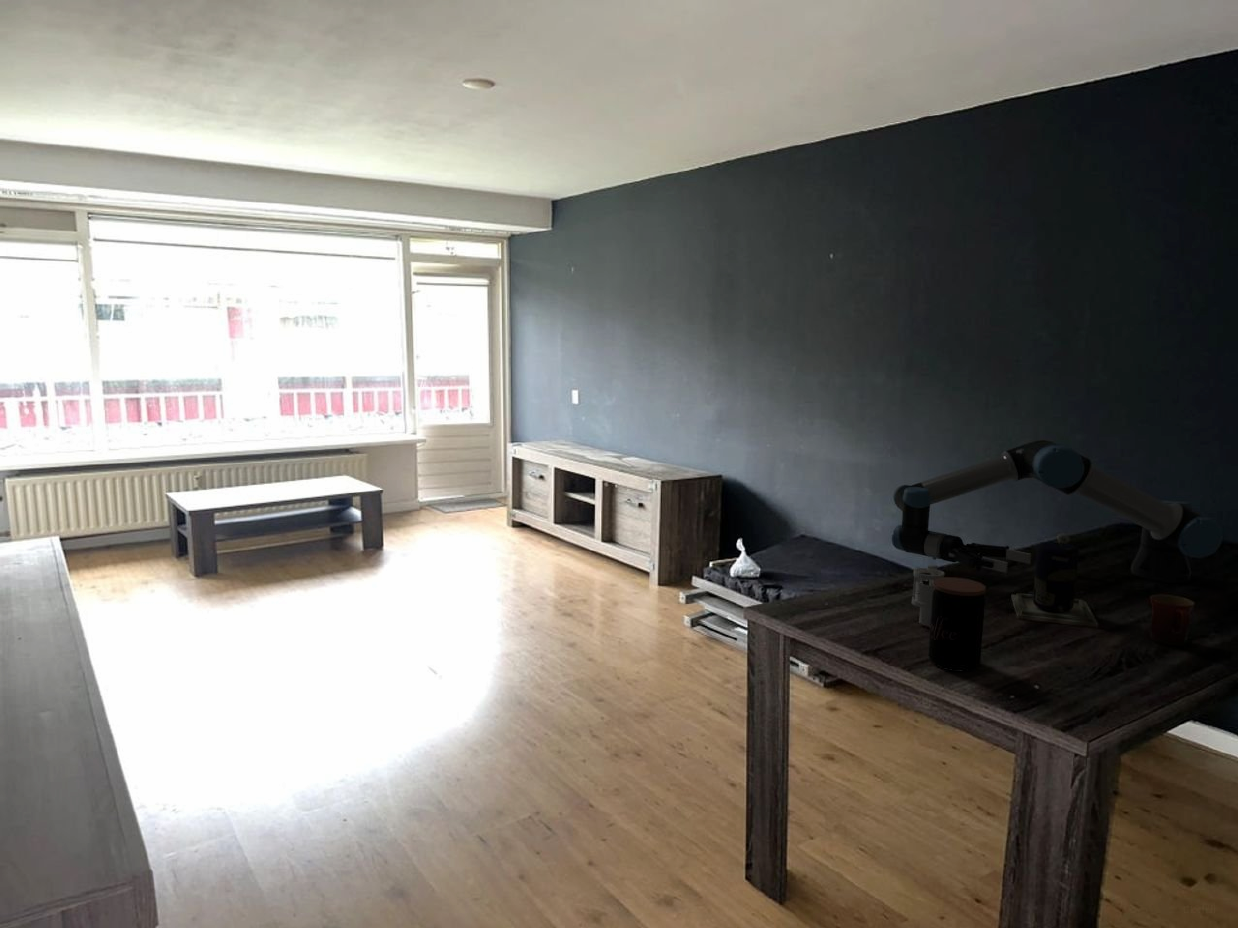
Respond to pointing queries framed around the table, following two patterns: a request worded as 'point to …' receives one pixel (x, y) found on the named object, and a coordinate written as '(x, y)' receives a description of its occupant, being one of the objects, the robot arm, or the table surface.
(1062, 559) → the canister
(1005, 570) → the robot arm
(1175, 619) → the mug
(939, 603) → the coffee jar
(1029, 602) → the square tray
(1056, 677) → the table surface
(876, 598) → the table surface
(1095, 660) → the table surface
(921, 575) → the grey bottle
